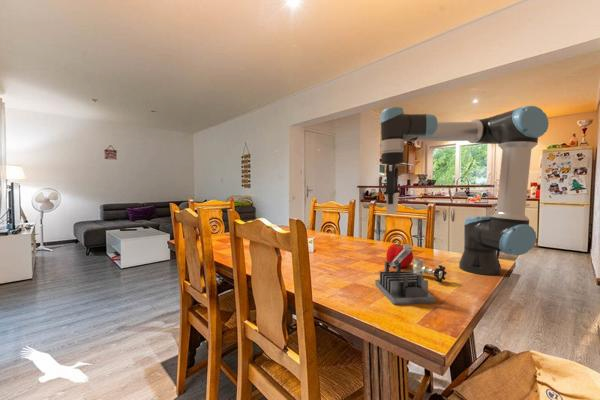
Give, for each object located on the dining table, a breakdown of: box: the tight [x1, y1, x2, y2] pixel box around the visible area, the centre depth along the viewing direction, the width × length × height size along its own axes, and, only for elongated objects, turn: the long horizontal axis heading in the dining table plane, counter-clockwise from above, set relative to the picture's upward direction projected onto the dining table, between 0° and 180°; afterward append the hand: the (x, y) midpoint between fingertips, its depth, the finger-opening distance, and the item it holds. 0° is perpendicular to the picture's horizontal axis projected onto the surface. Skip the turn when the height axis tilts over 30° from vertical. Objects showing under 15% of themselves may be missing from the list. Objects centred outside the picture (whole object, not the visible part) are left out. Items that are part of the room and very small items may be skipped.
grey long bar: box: [389, 243, 413, 268], centre depth 97 cm, size 16×3×2 cm
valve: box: [412, 258, 447, 284], centre depth 109 cm, size 7×7×12 cm
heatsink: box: [374, 260, 436, 306], centre depth 95 cm, size 18×13×8 cm
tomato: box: [385, 243, 414, 269], centre depth 126 cm, size 12×12×10 cm
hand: (392, 212), depth 101 cm, fingers open, 13 cm apart
